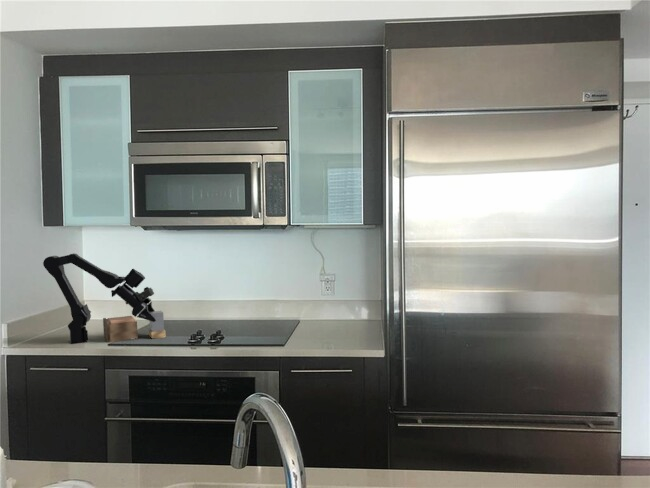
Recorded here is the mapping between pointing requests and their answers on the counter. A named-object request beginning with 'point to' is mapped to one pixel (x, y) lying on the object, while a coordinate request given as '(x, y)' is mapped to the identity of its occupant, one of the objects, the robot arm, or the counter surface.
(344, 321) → the counter surface
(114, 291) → the robot arm
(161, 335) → the oak plinth
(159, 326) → the granite block
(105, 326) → the walnut frame
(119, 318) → the terracotta flap
